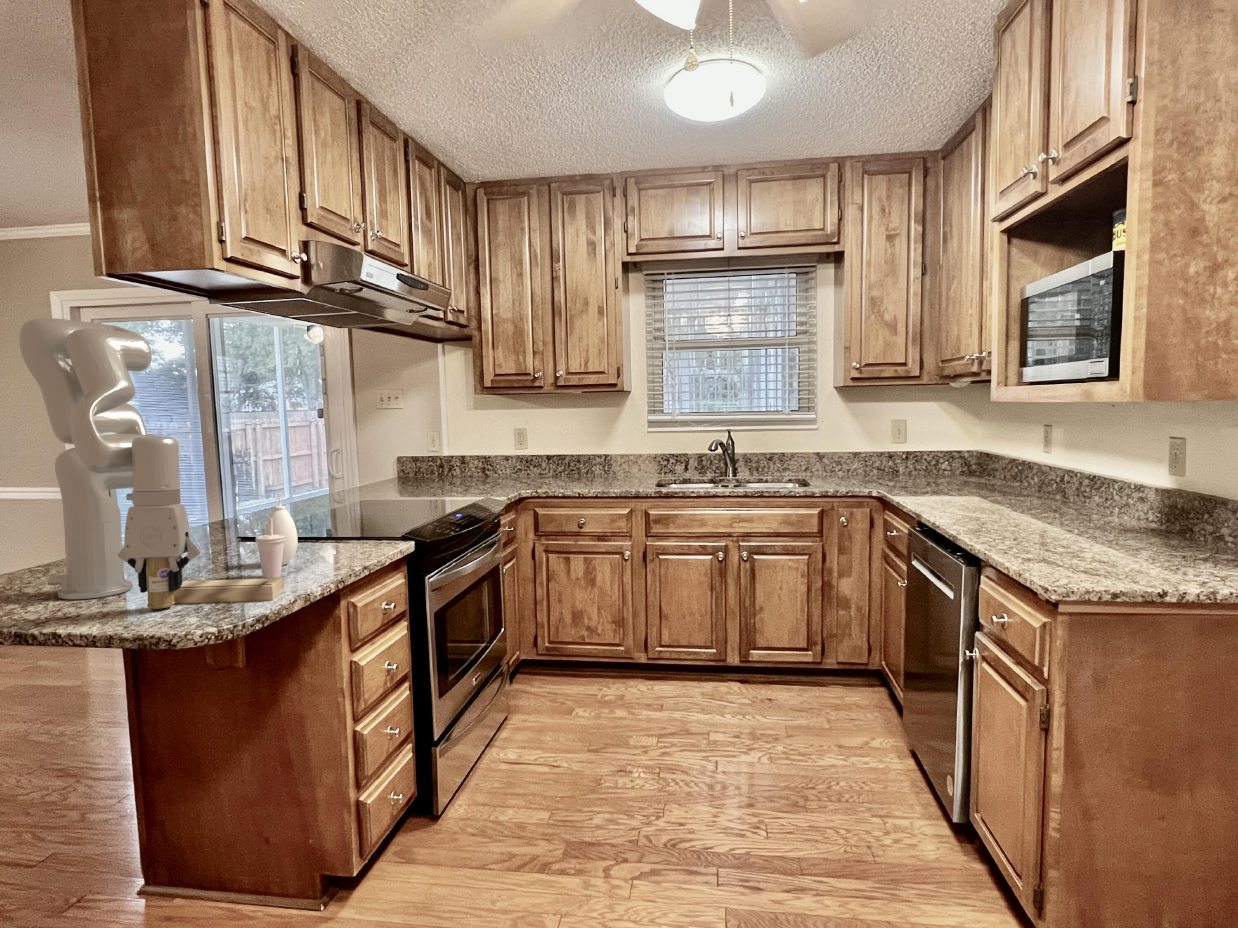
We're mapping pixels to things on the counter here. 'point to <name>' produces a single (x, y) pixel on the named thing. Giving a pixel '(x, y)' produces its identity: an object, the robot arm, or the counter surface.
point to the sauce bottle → (283, 531)
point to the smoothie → (271, 553)
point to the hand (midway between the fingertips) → (160, 589)
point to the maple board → (229, 590)
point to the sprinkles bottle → (158, 583)
